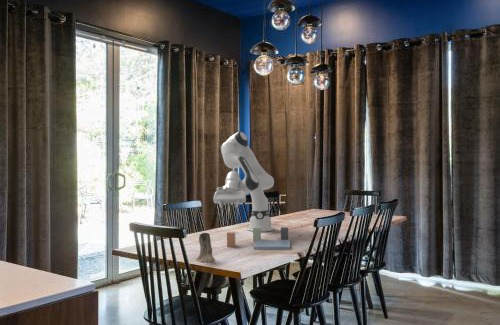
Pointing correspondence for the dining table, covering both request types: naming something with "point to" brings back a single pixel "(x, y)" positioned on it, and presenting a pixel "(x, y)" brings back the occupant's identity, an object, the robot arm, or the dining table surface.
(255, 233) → the sage brick
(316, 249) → the dining table surface
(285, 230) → the charcoal brick
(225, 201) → the robot arm
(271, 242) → the blue-grey baseplate
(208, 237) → the tree stump
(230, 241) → the terracotta brick
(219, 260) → the dining table surface
